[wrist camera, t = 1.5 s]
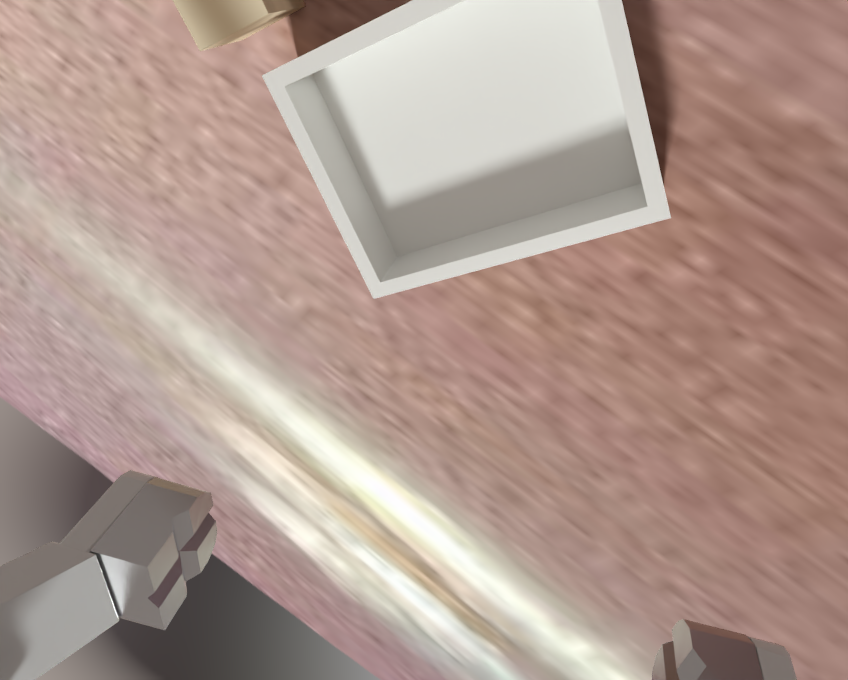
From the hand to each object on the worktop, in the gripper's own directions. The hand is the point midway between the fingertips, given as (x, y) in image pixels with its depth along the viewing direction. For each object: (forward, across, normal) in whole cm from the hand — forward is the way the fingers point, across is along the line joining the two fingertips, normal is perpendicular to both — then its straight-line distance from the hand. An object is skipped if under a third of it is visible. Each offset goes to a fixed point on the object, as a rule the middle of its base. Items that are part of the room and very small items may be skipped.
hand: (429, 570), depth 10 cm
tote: (+32, +4, +1) cm, 32 cm away
